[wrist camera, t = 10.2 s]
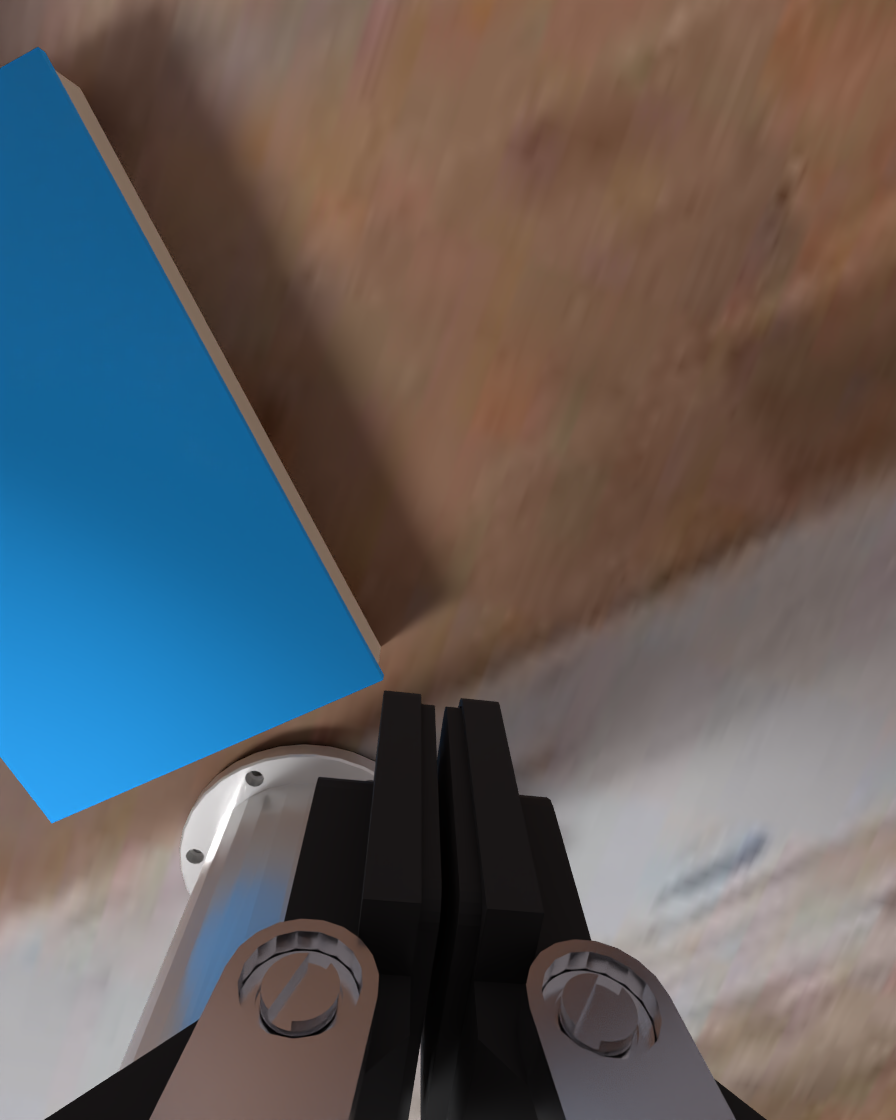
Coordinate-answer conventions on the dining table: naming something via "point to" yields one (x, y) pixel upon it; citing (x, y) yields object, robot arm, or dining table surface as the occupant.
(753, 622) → the dining table surface
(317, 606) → the book
